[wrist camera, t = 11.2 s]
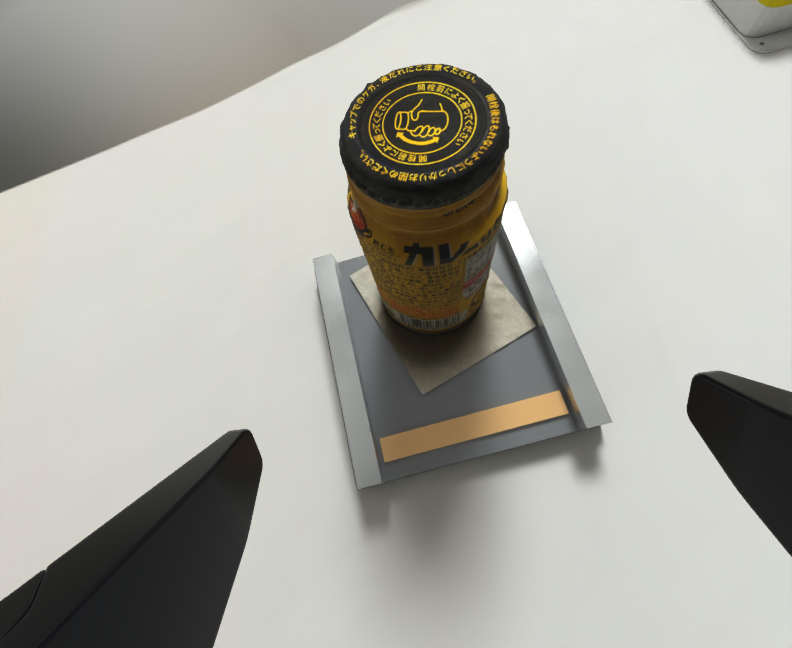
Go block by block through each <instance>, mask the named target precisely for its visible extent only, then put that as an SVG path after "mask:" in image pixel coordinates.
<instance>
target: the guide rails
mask: <svg viewBox="0 0 792 648" xmlns="http://www.w3.org/2000/svg"><path fill="white" fill-rule="evenodd" d="M499 235H500V237H501V240H502V242H503V245H504V247H505V250H506V252H507V255H508V257H509V260H510V262H511V264H512V267H513V269H514V272H515V274H516V277H517V279H518V282H519V284H520V287H521V289H522V292H523V294H524V297H525V299H526V301H527V304H528V306H529V309H530V311H531V314H532V316H533V319H534V321H535V324H536V326H537V329H538V331H539V334H540V336H541V338H542V341H543V343H544V346H545V348H546V351H547V353H548V356H549V358H550V361H551V363H552V366H553V368H554V371H555V373H556V375H557V378H558V380H559V383H560V385H561V388H562V390H563V393H564V395H565V398H566V400H567V403H568V405H569V408H570V410H571V413H572V415H573V417H574V420H575V422H576V425H577V427H578V430H583V429H588V428H592V427H595V426H599V425H603V424H607V423H611V422H612V421H611V418H610V416H609V414H608V411H607V409H606V407H605V405H604V402H603V400H602V398H601V395H600V393H599V391H598V389H597V386H596V384H595V382H594V379H593V377H592V375H591V373H590V370H589V368H588V366H587V364H586V361H585V359H584V357H583V354H582V352H581V350H580V348H579V345H578V343H577V341H576V338H575V336H574V334H573V332H572V329H571V327H570V325H569V322H568V320H567V318H566V316H565V313H564V311H563V309H562V307H561V304H560V302H559V300H558V297H557V295H556V293H555V291H554V288H553V286H552V284H551V281H550V279H549V277H548V275H547V272H546V270H545V268H544V266H543V263H542V261H541V259H540V256H539V254H538V252H537V250H536V247H535V245H534V243H533V240H532V238H531V236H530V234H529V231H528V229H527V227H526V224H525V222H524V220H523V218H522V215H521V213H520V211H519V209H518V206H517V204H516V202H515V201H514V202H511V203H507V204H506V205H505V209H504V213H503V219H502V223H501V227H500V230H499ZM313 263H314V268H315V273H316V278H317V283H318V289H319V294H320V299H321V304H322V309H323V314H324V319H325V324H326V330H327V335H328V340H329V345H330V350H331V355H332V360H333V365H334V370H335V376H336V381H337V386H338V391H339V396H340V401H341V406H342V411H343V417H344V422H345V427H346V432H347V437H348V442H349V447H350V452H351V458H352V463H353V468H354V473H355V478H356V483H357V488H358V489H362V488H365V487H369V486H373V485H377V484H380V483H384V482H386V481H385V477H384V472H383V468H382V463H381V459H380V454H379V450H378V445H377V441H376V436H375V432H374V427H373V422H372V418H371V413H370V409H369V404H368V400H367V395H366V391H365V386H364V382H363V377H362V373H361V368H360V363H359V359H358V354H357V350H356V345H355V341H354V336H353V332H352V327H351V323H350V318H349V314H348V309H347V305H346V300H345V295H344V291H343V286H342V282H341V277H340V273H339V268H338V264H337V262H336V260H335V258H334V256H333V254H328V255H325V256H321V257H318V258H314V259H313Z"/></svg>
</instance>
